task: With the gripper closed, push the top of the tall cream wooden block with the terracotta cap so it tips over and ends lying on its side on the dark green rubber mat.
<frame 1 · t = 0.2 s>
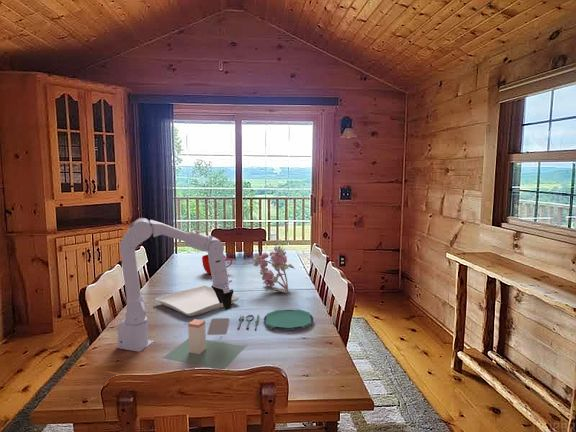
hand: (225, 305, 145), 11 cm above the table, tool pointing down, fingers open, 7 cm apart
green mat: (205, 353, 131), on the table
cream block: (197, 350, 132), resting on green mat
square plate: (197, 305, 176), on the table
flower: (272, 289, 198), on the table
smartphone: (218, 328, 152), on the table
cutlery set: (275, 323, 157), on the table
ceramic cup: (217, 273, 226), on the table
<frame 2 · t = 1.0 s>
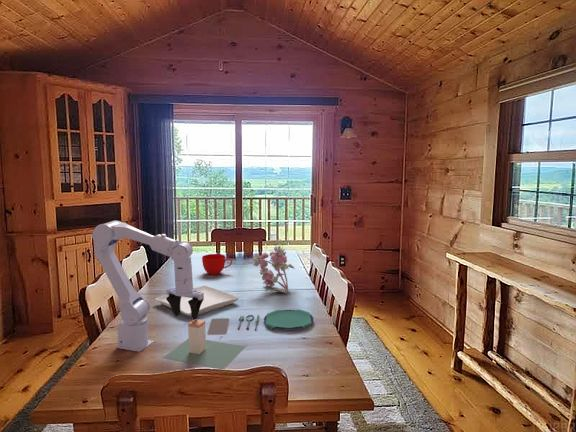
hand: (186, 317, 134), 11 cm above the table, tool pointing down, fingers open, 7 cm apart
nothing on the table moved.
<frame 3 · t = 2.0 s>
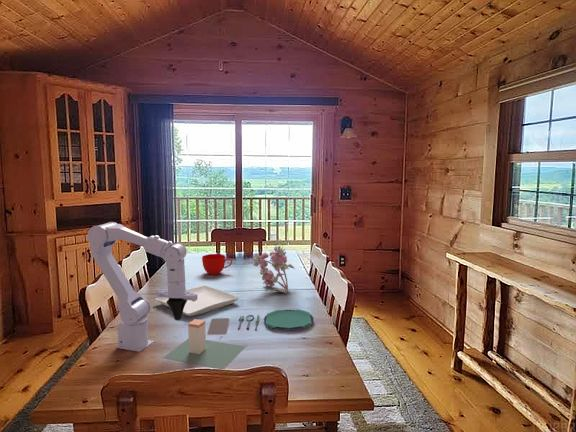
hand: (178, 319, 133), 10 cm above the table, tool pointing down, fingers closed
nothing on the table moved.
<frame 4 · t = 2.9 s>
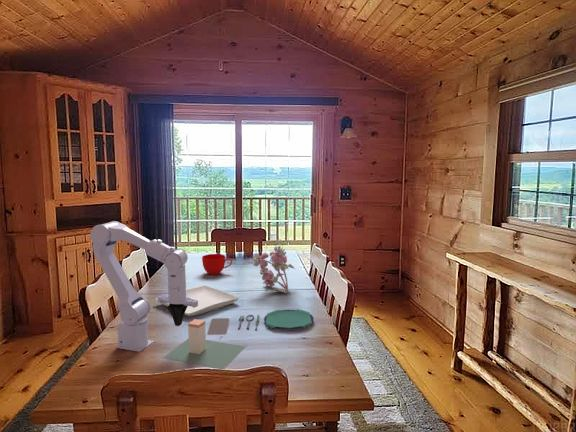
hand: (178, 324, 133), 8 cm above the table, tool pointing down, fingers closed
nothing on the table moved.
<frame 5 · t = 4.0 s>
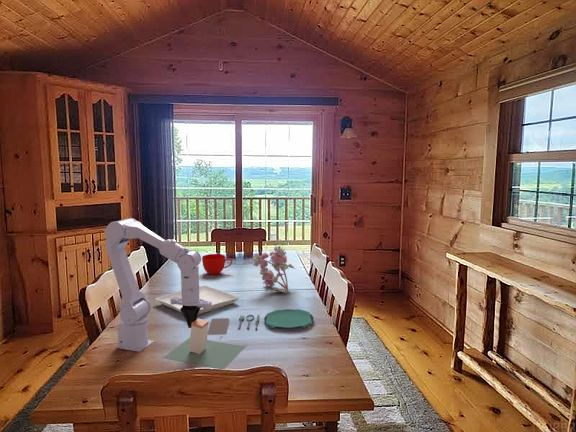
hand: (191, 326, 132), 8 cm above the table, tool pointing down, fingers closed
cream block: (197, 349, 132), point 1 cm above the table, tilted 7°, touching green mat
everything else where it was.
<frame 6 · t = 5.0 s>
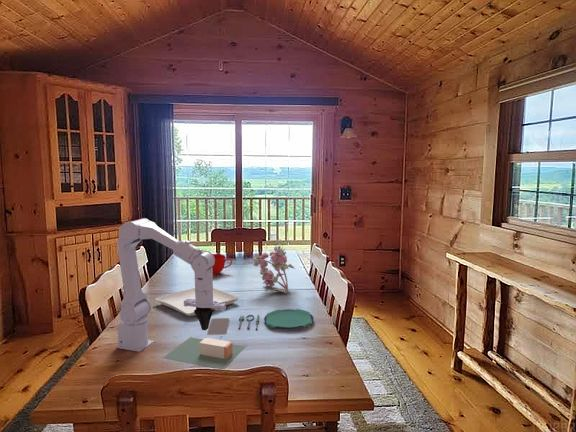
hand: (205, 329, 130), 8 cm above the table, tool pointing down, fingers closed
cream block: (202, 345, 131), point 2 cm above the table, tilted 90°, touching green mat
everything else where it was.
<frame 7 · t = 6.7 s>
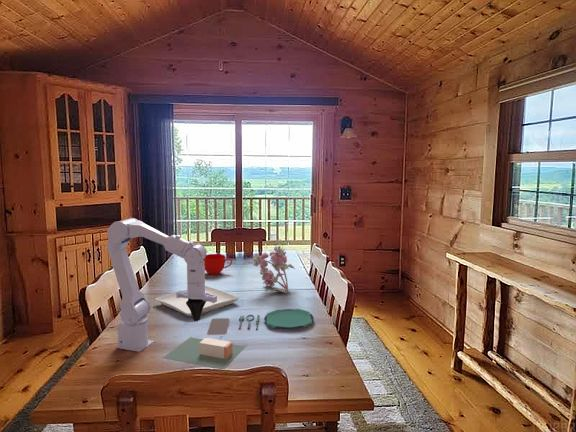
hand: (196, 320, 133), 10 cm above the table, tool pointing down, fingers closed
nothing on the table moved.
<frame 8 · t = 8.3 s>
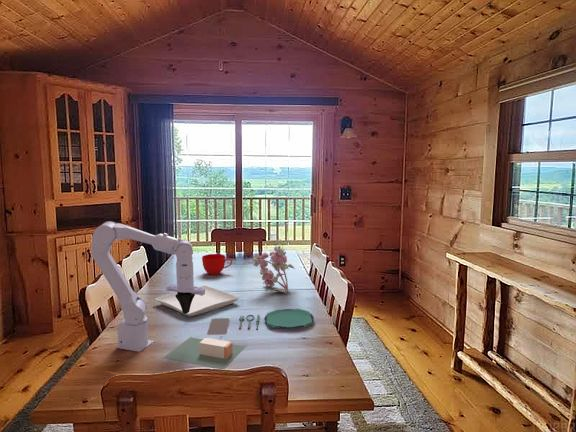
hand: (186, 312, 139), 10 cm above the table, tool pointing down, fingers closed
nothing on the table moved.
at the end: cream block tilted 90°; cream block inside the target area on the green mat (2.5 cm from its centre), point 2.4 cm above the green mat's base; the gripper is holding nothing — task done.
